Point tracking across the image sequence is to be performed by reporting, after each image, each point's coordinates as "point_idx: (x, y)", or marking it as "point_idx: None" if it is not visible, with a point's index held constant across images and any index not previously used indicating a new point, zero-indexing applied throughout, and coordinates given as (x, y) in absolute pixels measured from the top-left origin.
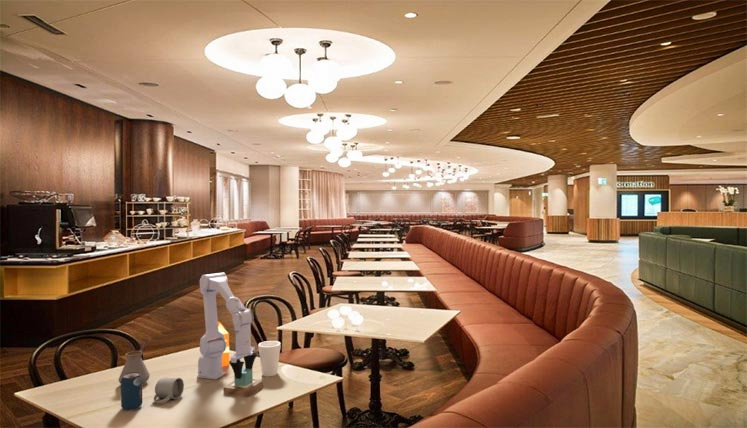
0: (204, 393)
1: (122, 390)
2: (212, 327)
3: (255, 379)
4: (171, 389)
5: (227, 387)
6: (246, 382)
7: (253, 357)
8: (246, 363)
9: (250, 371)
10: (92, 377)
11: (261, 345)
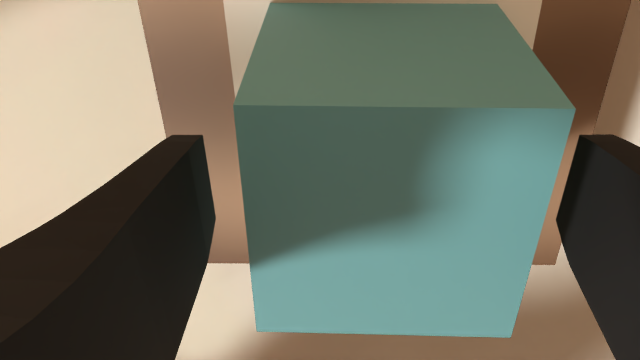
0: (544, 354)
1: None
2: None
3: (146, 19)
4: None
5: (555, 224)
6: (479, 22)
7: (15, 353)
8: (162, 344)
9: (330, 93)
10: None
11: None
